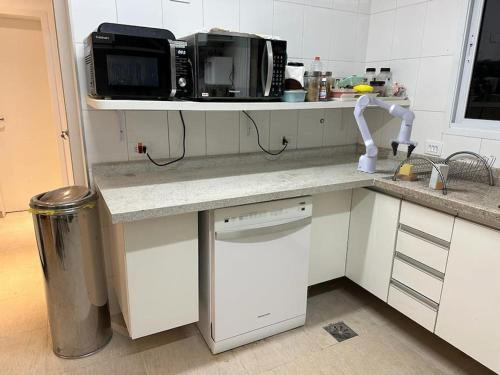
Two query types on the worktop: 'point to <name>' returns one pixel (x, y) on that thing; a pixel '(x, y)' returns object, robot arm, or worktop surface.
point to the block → (407, 169)
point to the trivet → (406, 177)
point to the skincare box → (438, 176)
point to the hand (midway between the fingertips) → (401, 156)
